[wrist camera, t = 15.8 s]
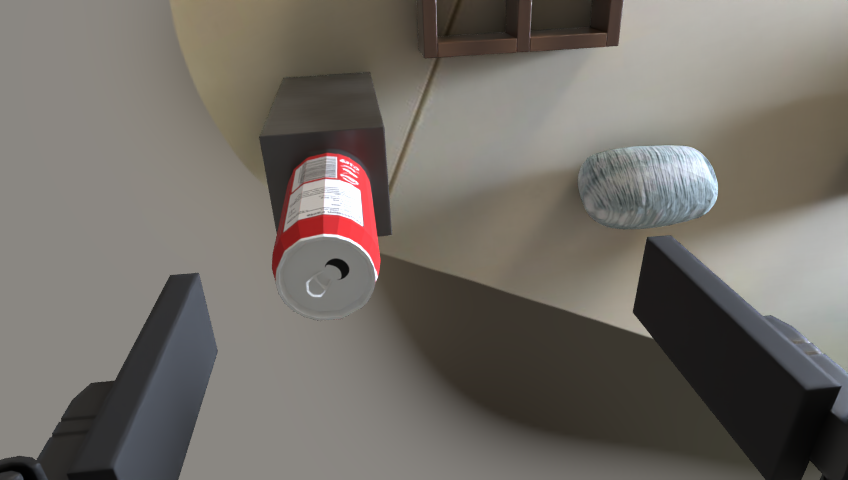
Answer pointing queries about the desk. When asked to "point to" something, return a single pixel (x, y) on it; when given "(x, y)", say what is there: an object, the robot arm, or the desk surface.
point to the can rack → (519, 32)
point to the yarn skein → (647, 186)
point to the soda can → (326, 239)
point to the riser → (326, 134)
